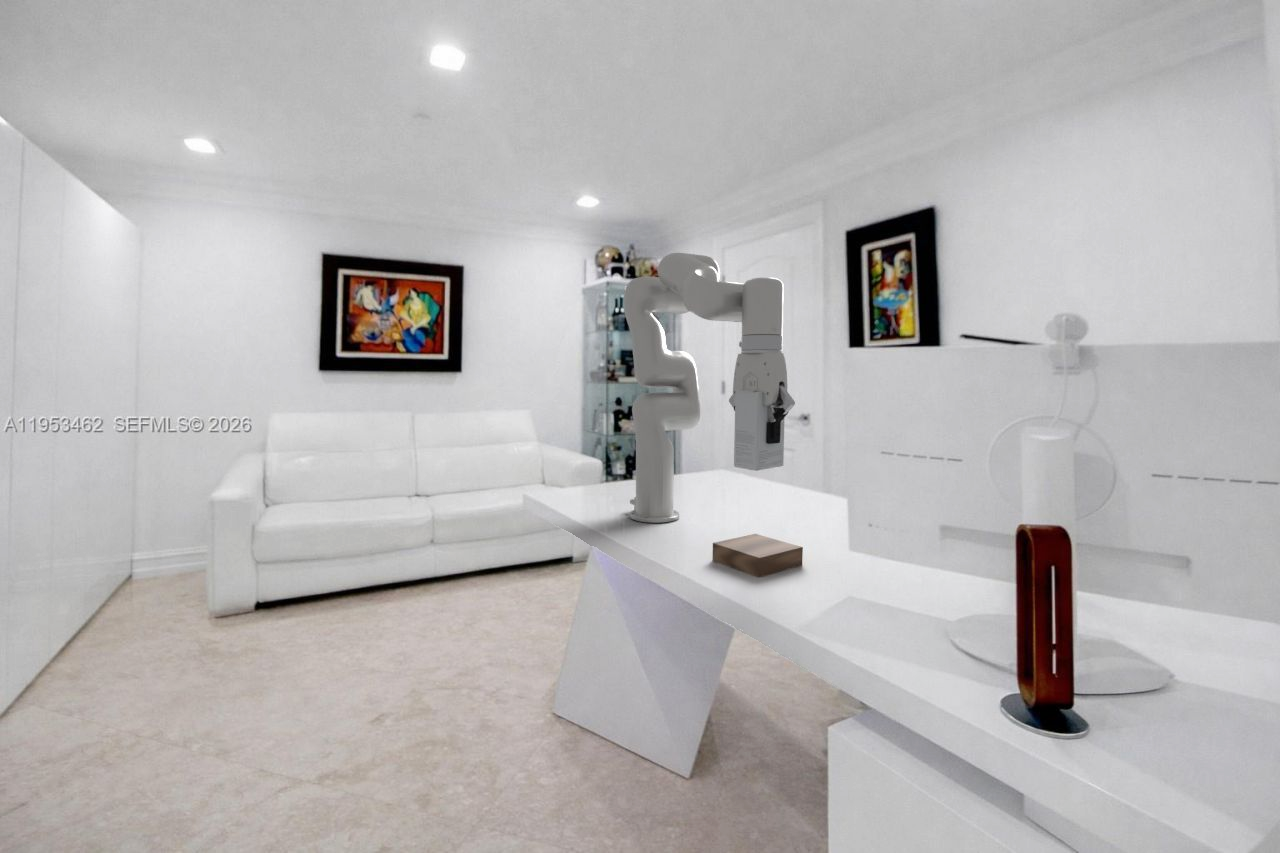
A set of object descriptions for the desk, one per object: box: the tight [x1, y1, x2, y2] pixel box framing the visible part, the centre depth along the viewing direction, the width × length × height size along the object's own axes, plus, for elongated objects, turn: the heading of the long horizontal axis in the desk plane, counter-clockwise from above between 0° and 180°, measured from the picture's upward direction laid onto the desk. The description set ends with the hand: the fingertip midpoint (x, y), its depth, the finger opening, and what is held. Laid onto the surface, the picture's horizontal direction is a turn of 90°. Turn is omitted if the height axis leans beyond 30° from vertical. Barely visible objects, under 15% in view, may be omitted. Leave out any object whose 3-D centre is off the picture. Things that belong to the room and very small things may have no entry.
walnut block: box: [712, 533, 804, 578], centre depth 116 cm, size 12×12×4 cm
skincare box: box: [733, 391, 786, 472], centre depth 114 cm, size 8×6×15 cm
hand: (759, 440), depth 114 cm, fingers closed on skincare box, 6 cm apart
